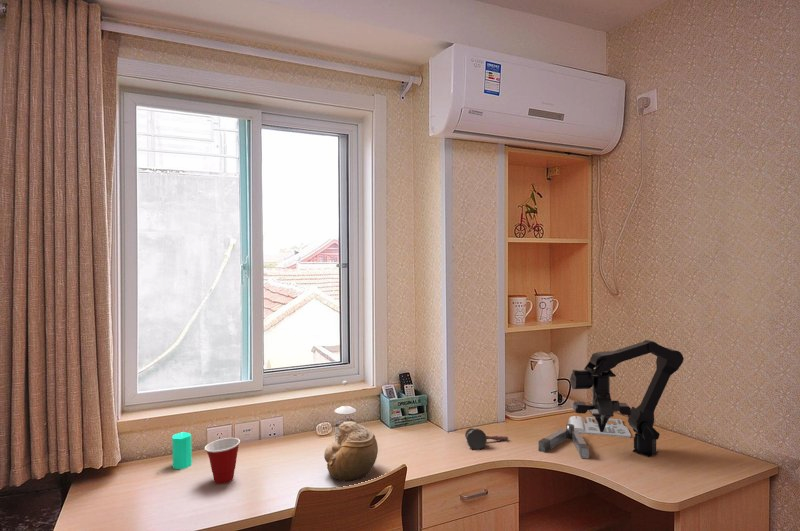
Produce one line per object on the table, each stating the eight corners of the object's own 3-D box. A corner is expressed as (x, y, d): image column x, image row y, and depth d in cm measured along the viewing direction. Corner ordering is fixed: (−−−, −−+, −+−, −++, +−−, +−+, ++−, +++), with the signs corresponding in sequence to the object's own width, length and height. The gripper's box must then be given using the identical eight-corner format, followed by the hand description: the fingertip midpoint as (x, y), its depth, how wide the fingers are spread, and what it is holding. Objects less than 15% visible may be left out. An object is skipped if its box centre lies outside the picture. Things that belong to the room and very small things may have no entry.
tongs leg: (571, 439, 189) (571, 430, 189) (578, 439, 189) (578, 430, 189) (581, 458, 171) (581, 447, 171) (589, 458, 171) (589, 448, 171)
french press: (328, 450, 181) (327, 383, 180) (339, 439, 192) (338, 375, 192) (353, 453, 178) (352, 384, 178) (363, 441, 190) (362, 377, 189)
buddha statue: (332, 461, 171) (332, 411, 172) (380, 464, 170) (381, 414, 170) (316, 486, 152) (317, 430, 152) (371, 490, 150) (372, 433, 150)
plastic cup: (208, 474, 161) (207, 438, 161) (242, 471, 164) (241, 435, 164) (201, 489, 151) (201, 450, 151) (238, 485, 153) (238, 447, 153)
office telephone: (568, 427, 198) (567, 412, 217) (568, 434, 198) (567, 418, 217) (631, 432, 191) (624, 416, 210) (631, 439, 191) (624, 422, 210)
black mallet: (466, 449, 180) (461, 444, 188) (513, 453, 181) (506, 448, 190) (468, 428, 181) (462, 424, 189) (515, 432, 183) (507, 428, 191)
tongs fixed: (565, 435, 194) (565, 422, 194) (575, 437, 191) (575, 425, 191) (538, 450, 179) (538, 437, 179) (549, 453, 176) (549, 440, 176)
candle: (173, 463, 170) (172, 429, 170) (192, 460, 173) (191, 427, 172) (172, 470, 165) (171, 434, 165) (191, 467, 167) (190, 432, 167)
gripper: (578, 394, 169) (579, 438, 170) (635, 395, 166) (636, 441, 167) (572, 385, 180) (572, 427, 181) (626, 387, 177) (626, 429, 178)
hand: (601, 431), depth 176 cm, fingers closed
